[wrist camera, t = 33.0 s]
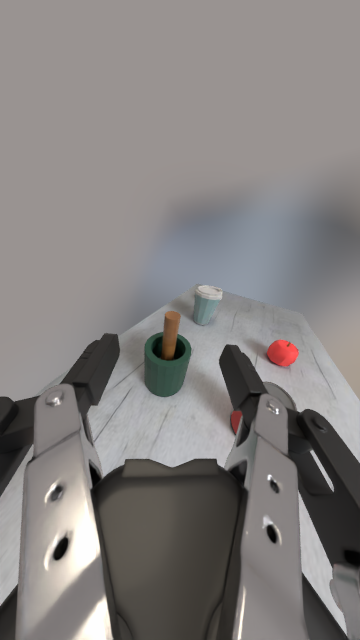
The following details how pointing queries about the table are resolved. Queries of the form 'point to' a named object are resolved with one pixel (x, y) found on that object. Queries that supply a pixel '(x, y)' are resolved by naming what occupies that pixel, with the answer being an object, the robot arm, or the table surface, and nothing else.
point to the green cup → (165, 366)
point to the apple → (282, 353)
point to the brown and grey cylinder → (170, 335)
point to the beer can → (273, 391)
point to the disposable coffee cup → (206, 303)
